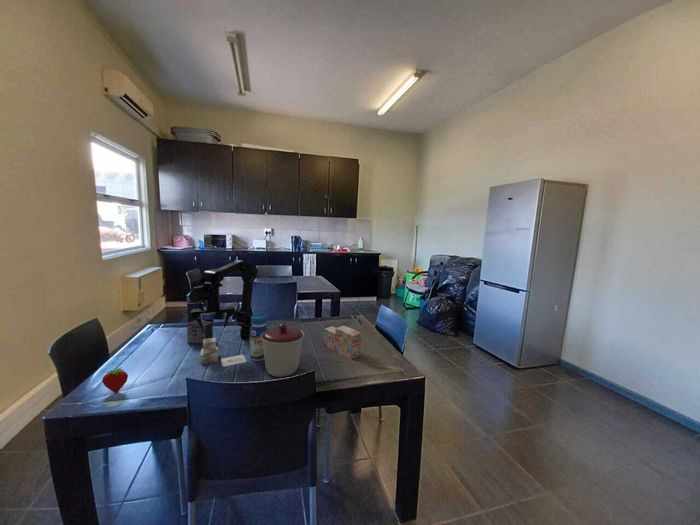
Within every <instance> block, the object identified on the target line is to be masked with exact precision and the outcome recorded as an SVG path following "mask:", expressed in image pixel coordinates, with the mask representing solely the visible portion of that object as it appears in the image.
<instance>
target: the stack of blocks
mask: <svg viewBox="0 0 700 525" xmlns="http://www.w3.org/2000/svg"><path fill="white" fill-rule="evenodd" d="M361 342H362V332H360V331H359V330H356V329H354V328H351V327H348V326H346V325H342V326H341V325H340V326H339V327H335V326H333V325H332V326H329V327H326V328H323V346H324V347H327V348H328V347H329V348H328V349H330V348H331V349H330V350H331V351H335V352H336V353H338V354H339V355H342V356H343V355H344V356H343V357H345V356H346V358H347V357H348V359H349V358H350V359H349V360H353V359H352V358H354V359H356V358H358V357H357V356H359V355H360V356H361V344H362V343H361ZM360 356H359V357H360ZM355 357H356V358H355Z"/></svg>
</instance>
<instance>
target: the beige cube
mask: <svg viewBox="0 0 700 525" xmlns="http://www.w3.org/2000/svg"><path fill="white" fill-rule="evenodd" d="M216 340H217V338H216V337H213V338H208V339H204V340H203V345H202V349H203V354H207V353H215V352H216V347H217V342H216Z"/></svg>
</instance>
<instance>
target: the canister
mask: <svg viewBox="0 0 700 525" xmlns="http://www.w3.org/2000/svg"><path fill="white" fill-rule="evenodd" d="M304 337H305V332H304V331H303V330H301V329H299V328H297V327H296V326H291V325H287V324H286V323H281V324H279V325H278V326H273V327H270V328H268V330H266V331H264V332H263V333H262V334H261V339H262V341H263V350H264V366H265V370H266V371H267V373H268V374H269V375H271V376H273V377H277V378H279V377H281V378H282V377H288V376H291V375H293V374H294V373H295V372H296V371H297V370H298V368H299V364H300V360H301V359H300V358H301V351H302V346H303V345H302V344H303V338H304Z"/></svg>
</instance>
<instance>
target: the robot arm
mask: <svg viewBox="0 0 700 525" xmlns="http://www.w3.org/2000/svg"><path fill="white" fill-rule="evenodd" d="M238 271H239V273H240V277H241V279H242V281H243V283H242V292H241V302H240V303H241V304H240V309H239V310H238V311H236V307H235V305H227V306H225V308H221V301H220V299H221V298H220V288H221V287H223V284H222V283H221V282H222V281H223V280H224V279H225V278H226V277H227V276H229V275H230V274H233V273H235V272H238ZM258 271H259V270H258V268H257V267H256V266H255V265H252V264H251V263H249V262H247V261H245V260H243V259H235V260H234V261H233V262H232V261H231V262H230V263H228V264H226V265H224V266H221V267H219V268H213V269H208V270H205V271H204V272H203V274H202V276H201V278H200V280H199V282H198V284H197V286H193V287H192V289H191V291H189V294H188V298H189V301H190V302H191V303H192V304H197V303H201V302H202V303H203V304H202V305H203V307H204V308H206V310H201V308H194V309H193V308H192V309H191V310H190V313H189V317H190V320H193V321H197V322H198V323H199V325H200V327H201V329H202V331H204V327H203V321H204V320H203V316H205V315H215V314H216V315H217V314H224V323H223V328H224V329H226V327H227V324H228V321H229V319H230V318H231V317H233V316H235V315H236V316H235V320H236V323H237V325H238V327H240V328H239V337H240V338H241V340H246V339H249V335H250V328H251V326H252V324H251V317H252V316H253V315H254V313H253V310H252V308H251V307H252V298H253V287H254V282H255V280H256V279H257V276H258Z"/></svg>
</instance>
